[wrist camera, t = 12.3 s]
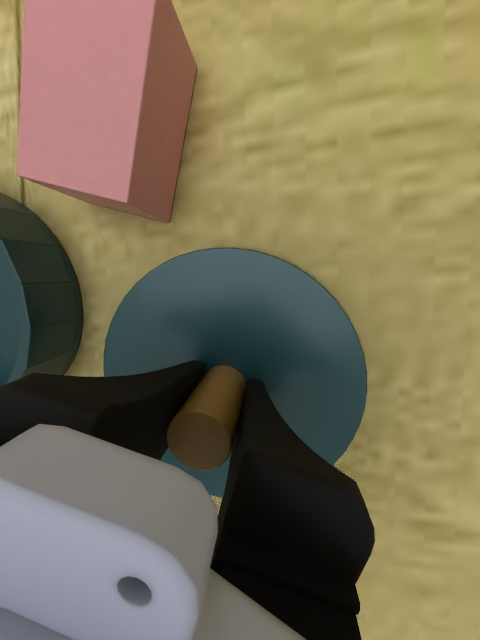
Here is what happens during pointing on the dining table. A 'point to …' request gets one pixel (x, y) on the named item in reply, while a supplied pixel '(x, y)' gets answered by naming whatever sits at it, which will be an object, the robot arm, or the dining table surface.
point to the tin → (35, 297)
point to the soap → (105, 101)
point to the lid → (242, 352)
